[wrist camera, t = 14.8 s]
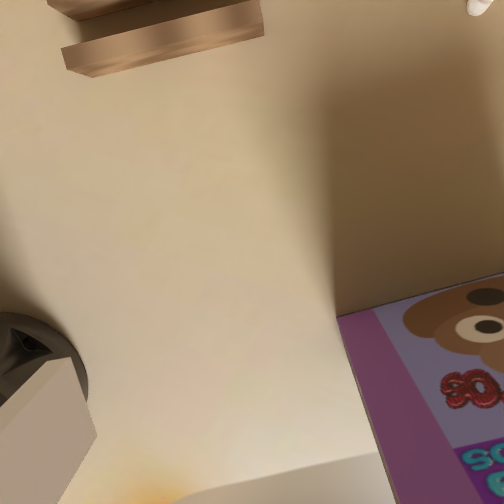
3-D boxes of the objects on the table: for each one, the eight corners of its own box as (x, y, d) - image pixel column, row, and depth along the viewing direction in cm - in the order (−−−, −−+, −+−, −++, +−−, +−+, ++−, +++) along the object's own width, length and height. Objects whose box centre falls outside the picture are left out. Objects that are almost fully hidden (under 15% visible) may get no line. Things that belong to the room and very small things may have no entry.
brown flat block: (92, 77, 39) (66, 69, 34) (87, 59, 38) (60, 48, 34) (264, 35, 37) (262, 20, 33) (260, 16, 37) (258, -2, 32)
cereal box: (523, 266, 41) (845, 436, 18) (531, 313, 42) (846, 531, 19) (336, 317, 43) (408, 527, 20) (348, 360, 44) (431, 608, 21)
